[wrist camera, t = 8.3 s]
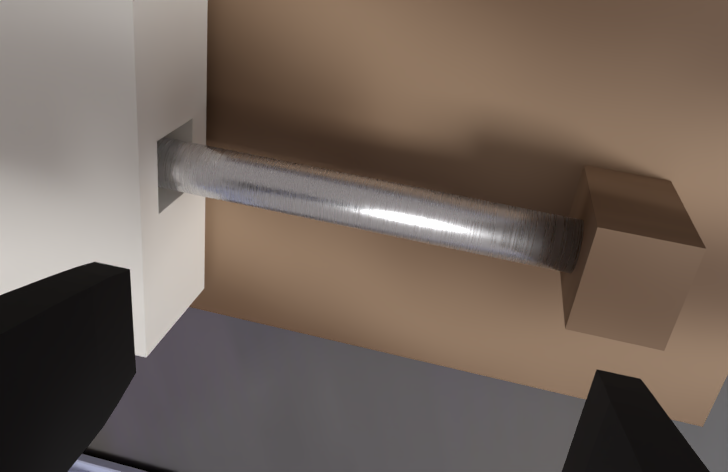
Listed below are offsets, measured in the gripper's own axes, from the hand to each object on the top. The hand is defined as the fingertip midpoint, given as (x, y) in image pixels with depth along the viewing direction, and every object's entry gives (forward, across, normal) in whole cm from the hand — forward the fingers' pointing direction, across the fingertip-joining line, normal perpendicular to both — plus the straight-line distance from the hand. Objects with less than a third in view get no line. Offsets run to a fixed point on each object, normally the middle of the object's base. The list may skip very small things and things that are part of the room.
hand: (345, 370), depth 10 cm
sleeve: (+8, +8, 0) cm, 11 cm away
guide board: (+9, +4, 0) cm, 10 cm away
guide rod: (+6, +5, 0) cm, 8 cm away
